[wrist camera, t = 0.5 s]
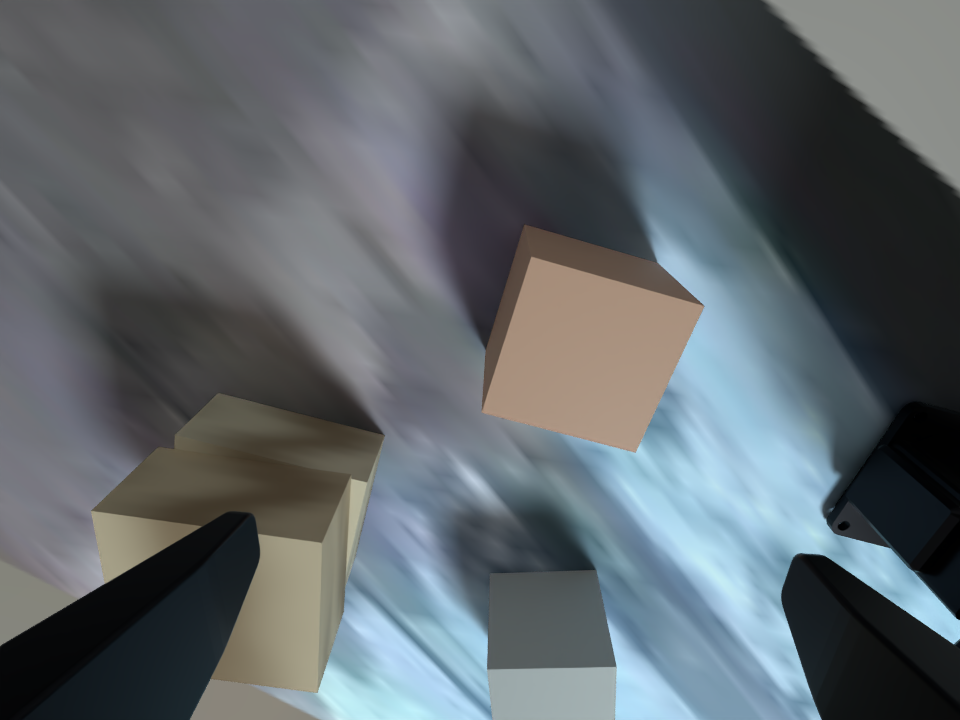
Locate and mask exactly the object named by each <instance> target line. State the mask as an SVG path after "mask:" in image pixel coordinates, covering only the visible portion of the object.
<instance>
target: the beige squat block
mask: <svg viewBox="0 0 960 720" xmlns="http://www.w3.org/2000/svg"><path fill="white" fill-rule="evenodd" d="M350 491H351V474H346V473H339V472H332V471H325V470H318V469H311V468H304V467H297V466H290V465H283V464H276V463H268V462H261V461H254V460H247V459H240V458H233V457H226V456H219V455H212V454H205V453H198V452H191V451H184V450H177V449H170V448H163V447H158V448H157V449H156V450H155V451H153V452H152V453H151V454H150V455H149V456H148V457H147V458H146V459H145V460H144V461H143V462H142V463H141V464H140V465H139V466H138V467H137V468H136V469H135V470H134V471H132V472H131V473H130V474H129V475H128V476H127V477H126V478H125V479H124V480H123V481H122V482H121V483H120V484H119V485H118V486H117V487H116V488H115V489H114V490H113V491H111V492H110V493H109V494H108V495H107V496H106V497H105V498H104V499H103V500H102V501H101V502H100V503H99V504H98V505H97V506H96V507H95V508H94V509H93V510H92V511H91V513H92V518H93V523H94V529H95V534H96V539H97V545H98V550H99V555H100V561H101V566H102V571H103V576H104V582H105V584H106V583H107V582H109V581H111V580H112V579H114V578H116V577H117V576H119V575H121V574H122V573H124V572H126V571H127V570H129V569H131V568H133V567H134V566H136V565H138V564H139V563H141V562H143V561H144V560H146V559H148V558H149V557H151V556H153V555H155V554H156V553H158V552H160V551H161V550H163V549H165V548H166V547H168V546H170V545H171V544H173V543H175V542H176V541H178V540H180V539H182V538H183V537H185V536H187V535H188V534H190V533H192V532H193V531H195V530H197V529H198V528H200V527H202V526H203V525H205V524H207V523H209V522H210V521H212V520H214V519H215V518H217V517H219V516H220V515H222V514H224V513H226V512H228V511H241V512H250V513H252V514H253V515H254V517H255V519H256V525H257V531H258V537H259V544H260V560H259V564H258V567H257V569H256V572H255V574H254V577H253V579H252V582H251V585H250V587H249V590H248V592H247V595H246V597H245V600H244V603H243V605H242V608H241V610H240V613H239V616H238V618H237V621H236V623H235V626H234V628H233V631H232V634H231V636H230V639H229V641H228V643H227V646H226V648H225V651H224V653H223V655H222V657H221V659H220V661H219V663H218V665H217V667H216V669H215V671H214V673H213V675H212V677H211V679H216V680H223V681H231V682H238V683H246V684H254V685H261V686H269V687H276V688H284V689H291V690H299V691H306V692H314V693H318V690H319V687H320V683H321V680H322V677H323V674H324V671H325V668H326V665H327V662H328V659H329V656H330V653H331V649H332V646H333V643H334V640H335V637H336V634H337V631H338V628H339V625H340V622H341V618H342V615H343V612H344V597H345V580H346V562H347V544H348V526H349V508H350Z"/></svg>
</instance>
